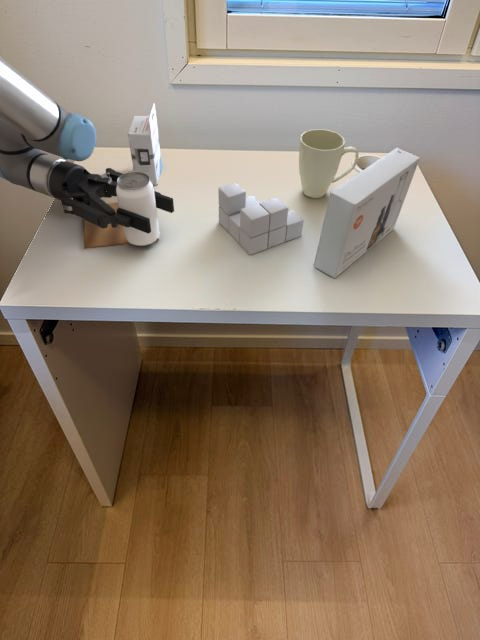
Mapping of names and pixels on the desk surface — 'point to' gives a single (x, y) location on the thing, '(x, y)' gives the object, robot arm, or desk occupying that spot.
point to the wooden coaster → (104, 233)
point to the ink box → (145, 145)
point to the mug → (321, 160)
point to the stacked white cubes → (256, 219)
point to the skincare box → (364, 211)
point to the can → (138, 205)
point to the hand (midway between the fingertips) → (160, 215)
